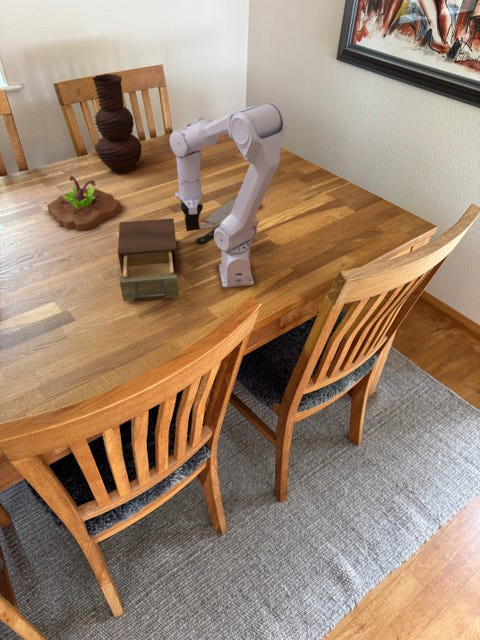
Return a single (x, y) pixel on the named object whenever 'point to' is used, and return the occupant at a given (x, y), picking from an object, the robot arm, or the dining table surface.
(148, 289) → the drawer
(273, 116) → the robot arm
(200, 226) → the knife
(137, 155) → the vase
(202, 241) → the cleaver
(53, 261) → the dining table surface
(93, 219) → the plant
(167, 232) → the cabinet
